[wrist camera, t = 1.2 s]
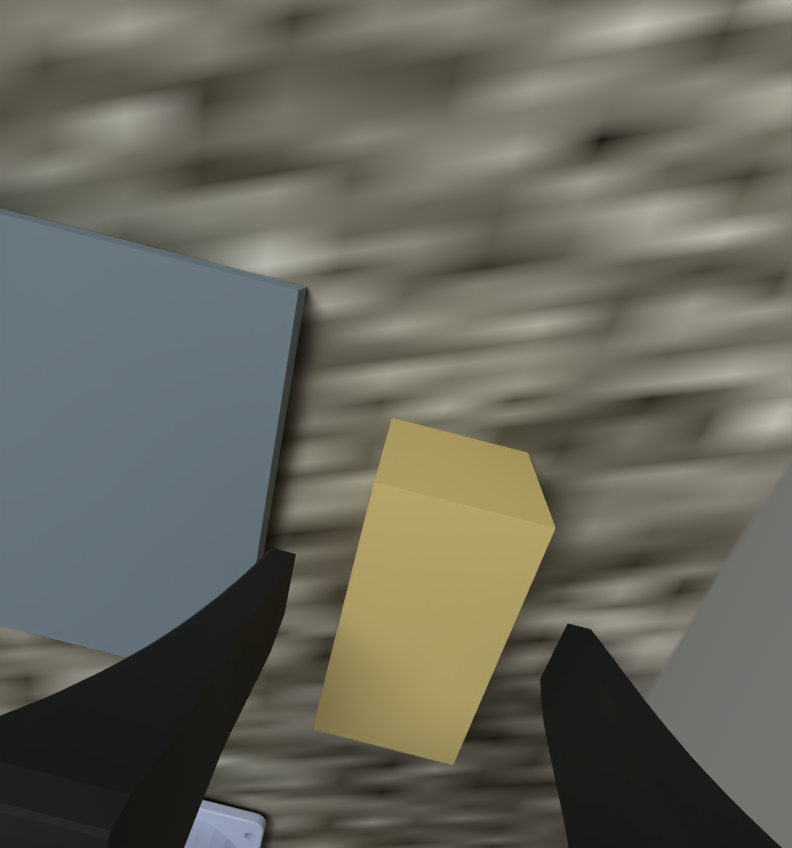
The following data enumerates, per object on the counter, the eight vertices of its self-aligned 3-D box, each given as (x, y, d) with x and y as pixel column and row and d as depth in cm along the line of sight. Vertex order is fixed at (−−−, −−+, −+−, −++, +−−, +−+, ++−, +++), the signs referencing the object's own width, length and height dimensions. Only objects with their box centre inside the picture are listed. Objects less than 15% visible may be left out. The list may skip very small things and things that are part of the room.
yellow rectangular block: (451, 650, 17) (452, 765, 14) (340, 621, 17) (312, 729, 14) (526, 450, 14) (555, 528, 11) (392, 416, 14) (374, 482, 11)
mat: (245, 666, 18) (237, 685, 17) (-71, 586, 18) (-93, 601, 17) (306, 286, 13) (298, 290, 12) (-140, 172, 13) (-176, 168, 12)
